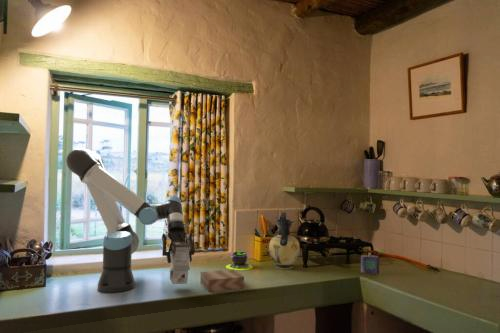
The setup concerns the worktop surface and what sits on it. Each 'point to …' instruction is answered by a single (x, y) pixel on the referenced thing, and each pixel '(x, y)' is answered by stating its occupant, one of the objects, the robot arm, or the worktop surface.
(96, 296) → the worktop surface
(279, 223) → the amphora
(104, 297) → the worktop surface
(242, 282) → the walnut base
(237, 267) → the toy cauldron
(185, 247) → the coffee box
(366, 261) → the flask
